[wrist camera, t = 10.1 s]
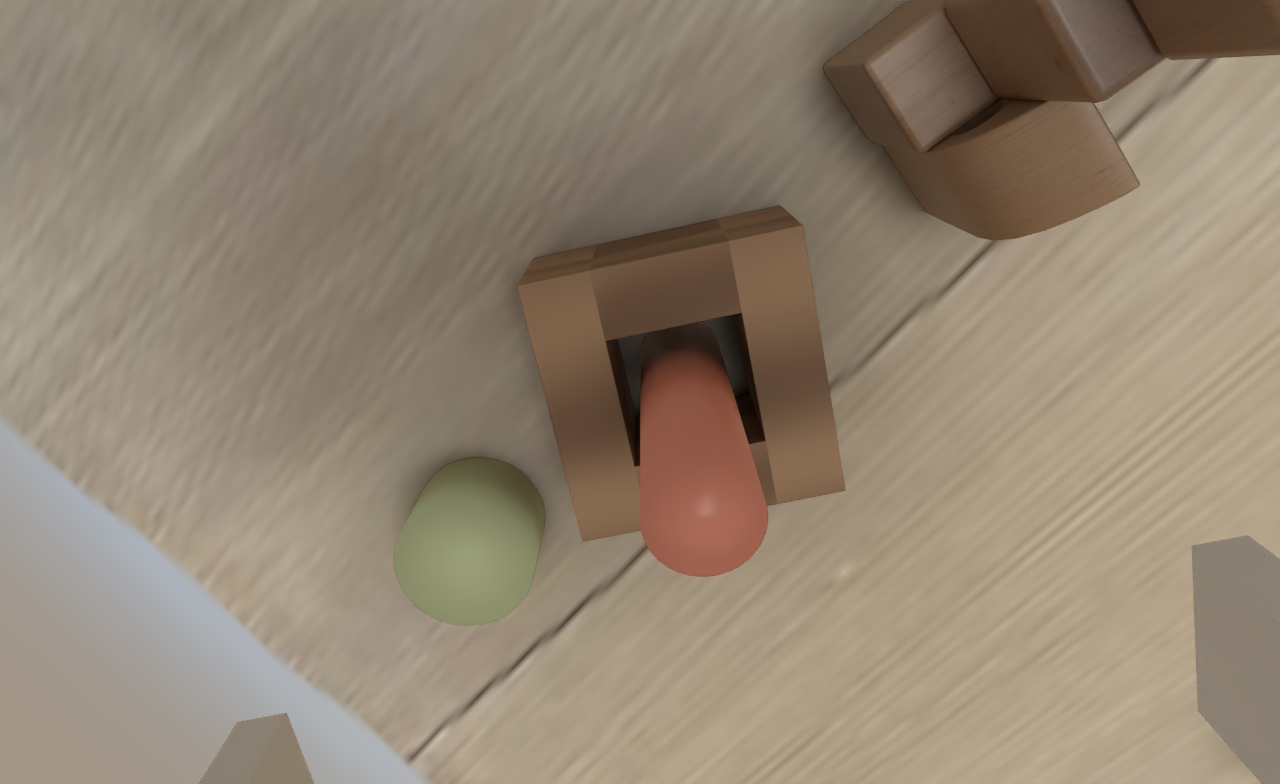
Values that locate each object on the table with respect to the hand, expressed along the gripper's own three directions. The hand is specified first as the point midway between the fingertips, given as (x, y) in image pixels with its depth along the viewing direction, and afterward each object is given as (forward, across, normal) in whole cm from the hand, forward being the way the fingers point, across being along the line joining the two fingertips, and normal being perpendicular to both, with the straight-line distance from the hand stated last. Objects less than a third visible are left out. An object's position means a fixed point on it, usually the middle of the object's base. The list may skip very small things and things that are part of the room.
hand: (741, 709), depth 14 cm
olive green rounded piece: (+23, -9, -6) cm, 25 cm away
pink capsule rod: (+23, 0, -1) cm, 23 cm away
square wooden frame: (+23, 0, -1) cm, 23 cm away
